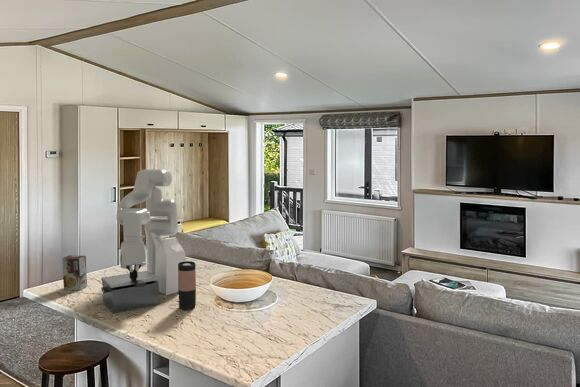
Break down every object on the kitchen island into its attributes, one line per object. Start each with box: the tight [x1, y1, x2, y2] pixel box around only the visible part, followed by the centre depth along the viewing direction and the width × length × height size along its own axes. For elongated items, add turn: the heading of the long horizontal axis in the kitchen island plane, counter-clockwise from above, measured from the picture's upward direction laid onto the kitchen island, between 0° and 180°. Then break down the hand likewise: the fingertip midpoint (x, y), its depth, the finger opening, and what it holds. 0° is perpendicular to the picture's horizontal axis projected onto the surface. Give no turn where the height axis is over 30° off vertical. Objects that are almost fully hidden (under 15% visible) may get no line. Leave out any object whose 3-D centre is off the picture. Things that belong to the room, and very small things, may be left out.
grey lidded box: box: [100, 280, 160, 314], centre depth 204 cm, size 24×18×10 cm
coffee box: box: [61, 254, 88, 291], centre depth 223 cm, size 9×6×16 cm
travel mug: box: [177, 260, 197, 311], centre depth 198 cm, size 8×8×20 cm
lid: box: [100, 270, 160, 288], centre depth 200 cm, size 21×25×2 cm
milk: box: [155, 236, 187, 296], centre depth 222 cm, size 12×12×26 cm
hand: (133, 279), depth 197 cm, fingers closed
